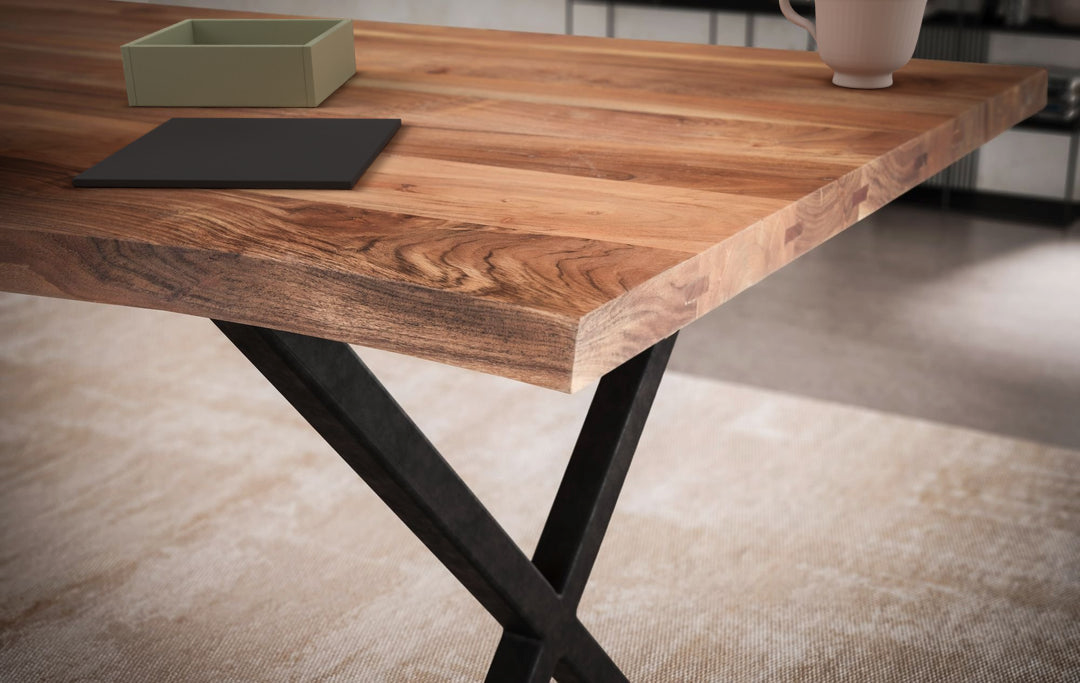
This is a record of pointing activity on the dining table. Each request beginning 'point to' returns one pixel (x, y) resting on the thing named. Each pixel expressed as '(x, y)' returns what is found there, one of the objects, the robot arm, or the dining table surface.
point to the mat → (246, 154)
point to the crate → (240, 63)
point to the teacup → (863, 37)
